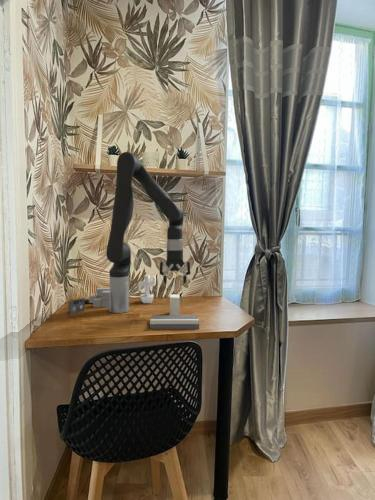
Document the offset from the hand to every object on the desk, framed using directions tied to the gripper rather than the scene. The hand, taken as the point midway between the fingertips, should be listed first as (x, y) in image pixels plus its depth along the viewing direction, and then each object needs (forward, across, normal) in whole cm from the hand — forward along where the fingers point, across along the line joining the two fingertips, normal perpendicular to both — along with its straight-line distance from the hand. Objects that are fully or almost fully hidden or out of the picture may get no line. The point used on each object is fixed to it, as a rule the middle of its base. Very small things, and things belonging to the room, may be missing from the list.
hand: (175, 283), depth 145 cm
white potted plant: (+15, -15, +24) cm, 32 cm away
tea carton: (+15, 0, 0) cm, 15 cm away
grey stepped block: (+15, -40, +20) cm, 47 cm away
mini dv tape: (+15, -47, +5) cm, 50 cm away
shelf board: (+15, 0, -14) cm, 20 cm away
